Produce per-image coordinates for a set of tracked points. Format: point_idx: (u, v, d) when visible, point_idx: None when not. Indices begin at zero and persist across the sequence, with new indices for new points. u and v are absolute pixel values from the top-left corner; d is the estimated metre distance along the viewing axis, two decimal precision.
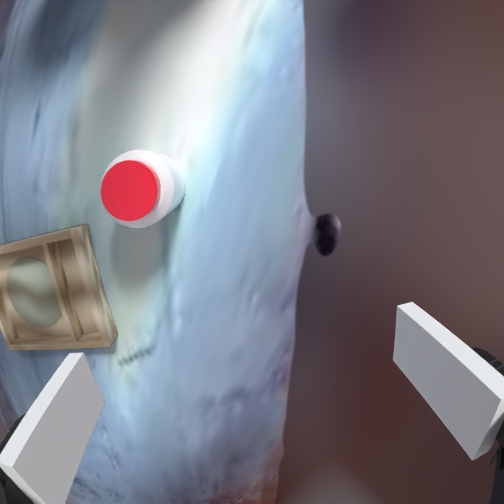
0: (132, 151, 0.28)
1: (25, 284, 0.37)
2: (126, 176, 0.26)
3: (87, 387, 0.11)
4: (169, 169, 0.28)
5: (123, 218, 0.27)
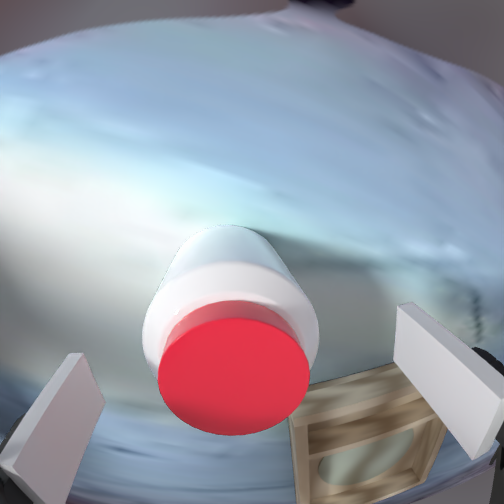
0: (146, 355, 0.13)
1: (354, 466, 0.27)
2: (198, 390, 0.10)
3: (87, 387, 0.11)
4: (185, 274, 0.12)
5: (301, 393, 0.11)
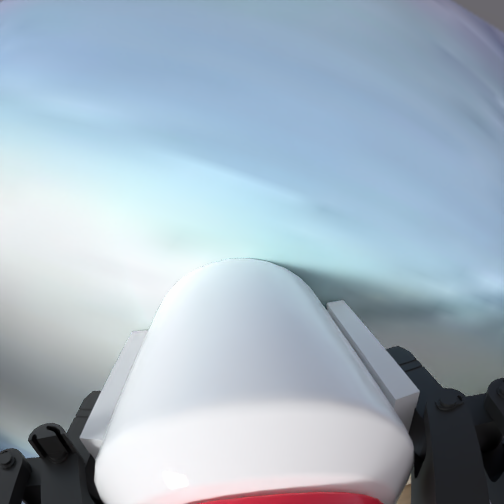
0: None
1: None
2: None
3: None
4: (158, 423, 0.04)
5: None
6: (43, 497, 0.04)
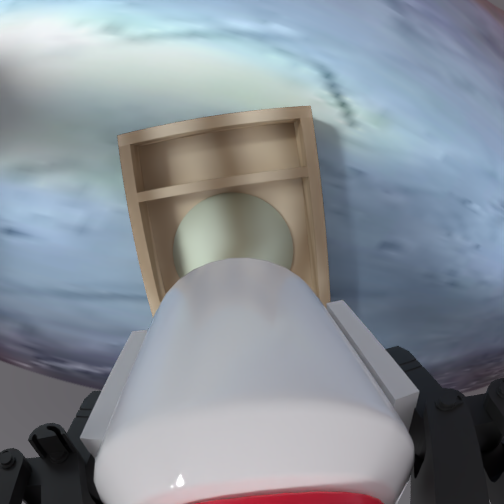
0: None
1: None
2: None
3: None
4: (158, 422, 0.04)
5: None
6: (43, 497, 0.04)
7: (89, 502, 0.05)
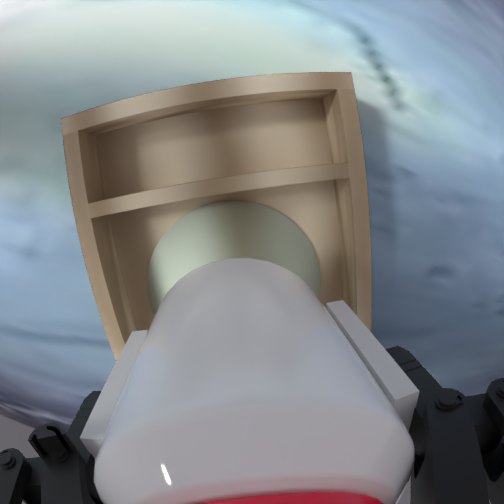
0: None
1: None
2: None
3: None
4: (158, 422, 0.04)
5: None
6: (43, 497, 0.04)
7: (89, 502, 0.05)
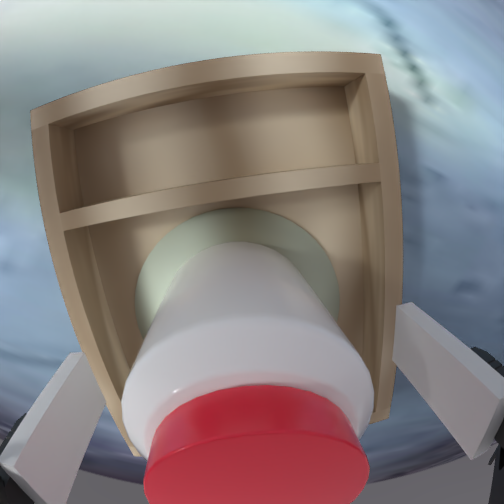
0: (130, 437, 0.08)
1: None
2: None
3: (88, 387, 0.11)
4: (179, 337, 0.07)
5: (351, 497, 0.06)
6: None
7: None
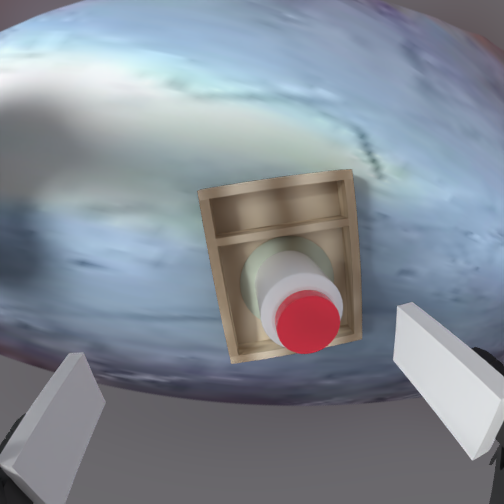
0: (262, 318, 0.28)
1: None
2: (294, 328, 0.26)
3: (87, 387, 0.11)
4: (285, 279, 0.27)
5: (336, 330, 0.26)
6: None
7: None
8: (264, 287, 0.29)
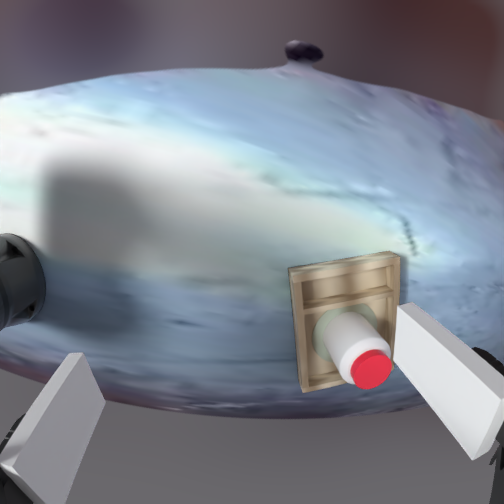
0: (341, 367, 0.38)
1: None
2: (364, 375, 0.36)
3: (87, 387, 0.11)
4: (358, 342, 0.38)
5: (388, 373, 0.37)
6: None
7: None
8: (340, 345, 0.40)
